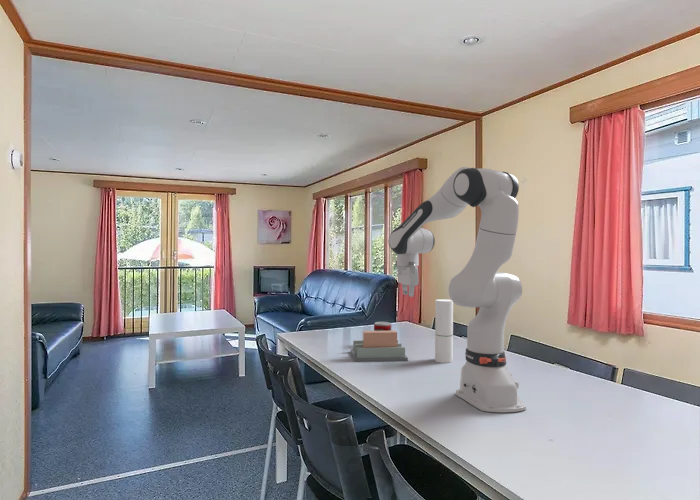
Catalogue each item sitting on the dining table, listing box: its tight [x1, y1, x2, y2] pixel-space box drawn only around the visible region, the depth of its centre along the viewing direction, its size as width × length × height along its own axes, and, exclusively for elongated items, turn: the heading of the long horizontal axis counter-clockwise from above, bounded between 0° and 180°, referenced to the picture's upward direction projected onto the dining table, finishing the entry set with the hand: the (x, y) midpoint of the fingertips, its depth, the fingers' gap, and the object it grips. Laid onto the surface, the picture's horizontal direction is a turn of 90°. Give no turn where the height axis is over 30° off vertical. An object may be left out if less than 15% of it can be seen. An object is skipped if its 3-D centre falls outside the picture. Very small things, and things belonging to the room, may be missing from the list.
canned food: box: [373, 321, 392, 331], centre depth 202 cm, size 8×8×11 cm
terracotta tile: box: [362, 330, 398, 348], centre depth 180 cm, size 4×14×10 cm, turn 96°
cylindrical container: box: [434, 298, 454, 364], centre depth 177 cm, size 7×7×25 cm
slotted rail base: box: [350, 339, 409, 363], centre depth 184 cm, size 17×22×5 cm
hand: (408, 295), depth 175 cm, fingers open, 8 cm apart
